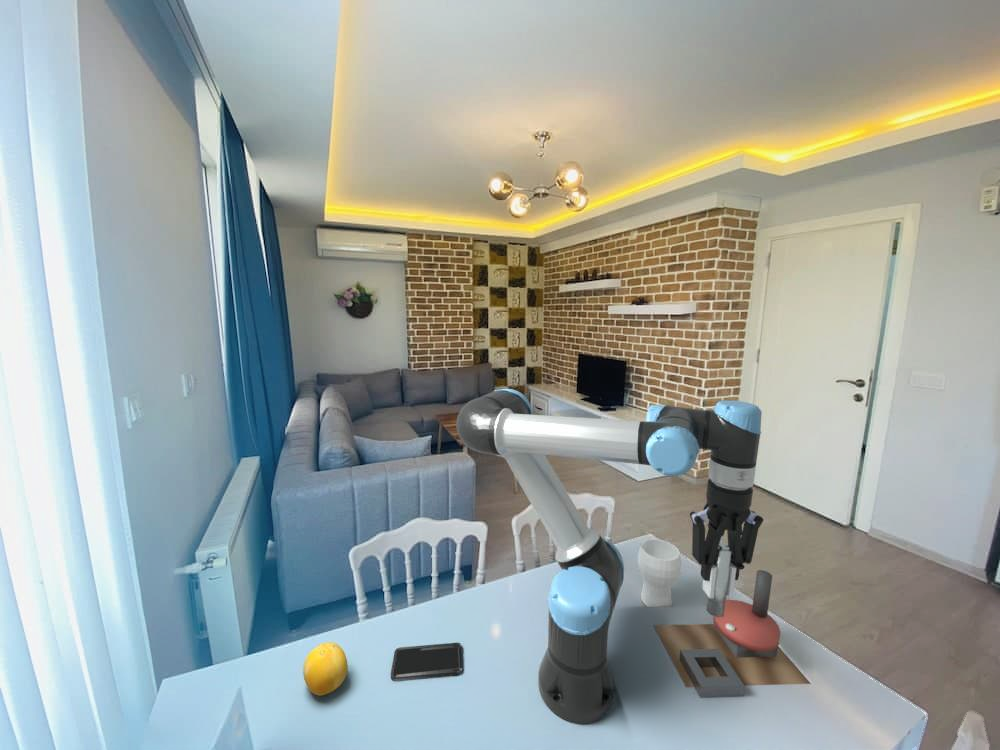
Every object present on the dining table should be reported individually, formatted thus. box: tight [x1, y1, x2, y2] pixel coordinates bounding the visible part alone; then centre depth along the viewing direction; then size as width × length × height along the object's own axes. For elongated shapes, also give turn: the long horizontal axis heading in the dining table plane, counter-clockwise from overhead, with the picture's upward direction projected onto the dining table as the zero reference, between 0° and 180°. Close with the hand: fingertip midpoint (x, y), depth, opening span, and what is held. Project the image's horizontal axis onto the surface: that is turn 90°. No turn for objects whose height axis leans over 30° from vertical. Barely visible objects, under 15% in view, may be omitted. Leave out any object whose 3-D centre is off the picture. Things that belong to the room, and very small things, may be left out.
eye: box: [679, 649, 745, 698], centre depth 83 cm, size 9×9×2 cm
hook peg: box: [705, 539, 732, 617], centre depth 81 cm, size 3×5×15 cm, turn 2°
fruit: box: [302, 641, 349, 696], centre depth 82 cm, size 9×8×8 cm
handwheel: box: [712, 569, 781, 652], centre depth 91 cm, size 13×13×12 cm
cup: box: [637, 538, 683, 608], centre depth 106 cm, size 11×11×15 cm
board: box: [653, 623, 811, 688], centre depth 90 cm, size 26×16×4 cm, turn 92°
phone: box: [390, 642, 463, 682], centre depth 88 cm, size 8×1×15 cm
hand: (717, 593), depth 80 cm, fingers closed on hook peg, 3 cm apart
